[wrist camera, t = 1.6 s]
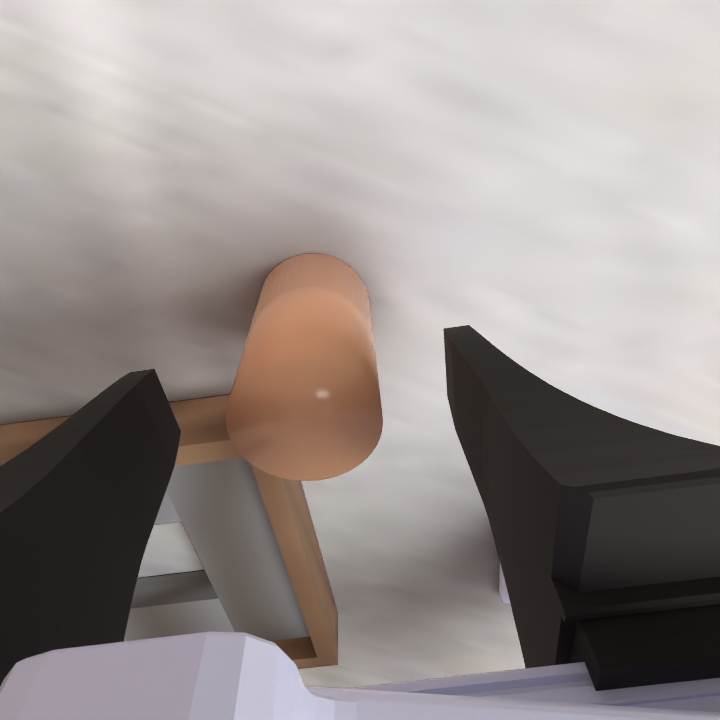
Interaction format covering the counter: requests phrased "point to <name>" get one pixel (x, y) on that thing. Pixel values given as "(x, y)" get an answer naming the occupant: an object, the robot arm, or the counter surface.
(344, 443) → the peg
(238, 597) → the box
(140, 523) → the robot arm
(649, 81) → the counter surface
